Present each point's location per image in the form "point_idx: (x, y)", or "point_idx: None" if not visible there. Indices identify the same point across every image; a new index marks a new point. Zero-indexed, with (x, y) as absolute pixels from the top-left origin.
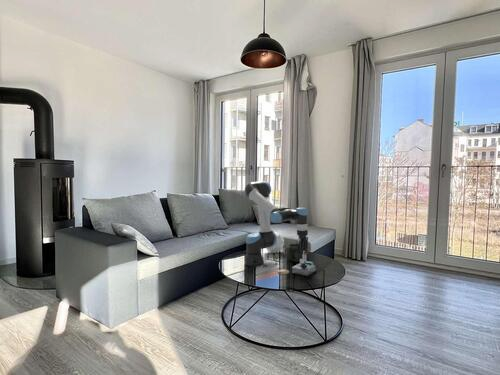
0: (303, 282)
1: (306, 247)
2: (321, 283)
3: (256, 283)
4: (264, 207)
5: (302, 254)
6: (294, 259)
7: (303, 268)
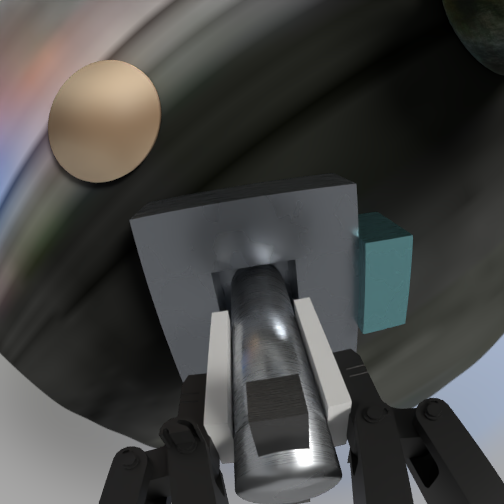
0: (85, 382)
1: (425, 490)
2: (161, 444)
3: None
4: None
5: (220, 453)
6: (459, 20)
7: (196, 340)
